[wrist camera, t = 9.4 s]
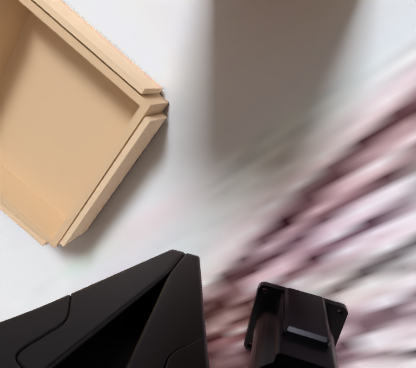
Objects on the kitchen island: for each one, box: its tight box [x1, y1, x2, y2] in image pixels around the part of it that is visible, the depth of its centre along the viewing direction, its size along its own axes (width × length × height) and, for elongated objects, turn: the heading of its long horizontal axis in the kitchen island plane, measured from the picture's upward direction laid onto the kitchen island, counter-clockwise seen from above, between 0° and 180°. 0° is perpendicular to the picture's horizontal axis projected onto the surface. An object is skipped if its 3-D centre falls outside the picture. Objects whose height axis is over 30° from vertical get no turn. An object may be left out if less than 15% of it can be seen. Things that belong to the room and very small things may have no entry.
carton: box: [0, 0, 169, 248], centre depth 22 cm, size 12×15×3 cm
